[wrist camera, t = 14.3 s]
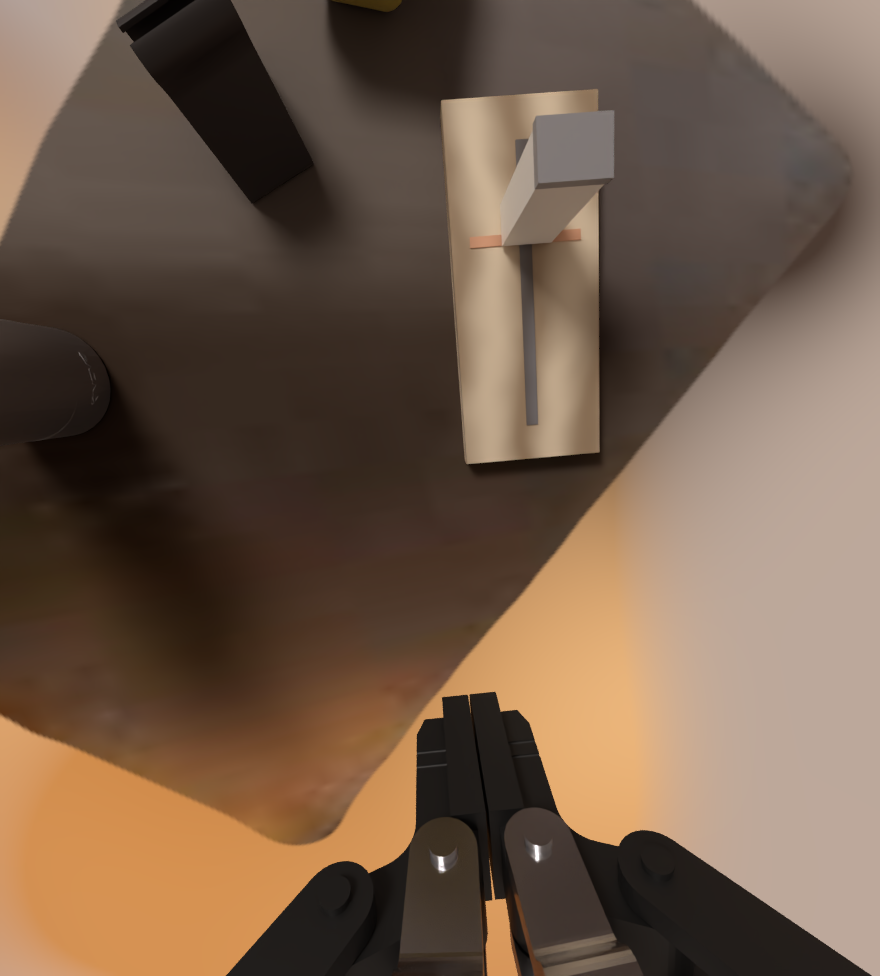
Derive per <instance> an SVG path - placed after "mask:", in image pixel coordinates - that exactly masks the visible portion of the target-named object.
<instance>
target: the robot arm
mask: <svg viewBox="0 0 880 976" xmlns="http://www.w3.org/2000/svg"><path fill="white" fill-rule="evenodd" d="M110 391H111V389H110V382H109V377H108V374H107V371H106V368H105V366H104V365H103V363H102V361H101V359H100V358H99V356H98V355H97V354H96V353H95V351H94V350H93V349H92V348H91V347H90V346H89V345H88V344H86V343H85V342H84V341H83V340H82V339H80V338H78V337H77V336H75V335H73V334H71V333H69V332H66V331H63V330H60V329H57V328H50V327H44V326H38V325H32V324H25V323H19V322H14V321H8V320H2V319H0V446H2V445H9V444H16V443H23V442H30V441H39V440H46V439H53V438H60V437H67V436H74V435H77V434H81V433H84V432H86V431H88V430H89V429H91V428H93V427H94V426H95V425H96V424H97V423H98V422H99V421H100V420H101V419H102V418H103V416H104V414H105V413H106V411H107V408H108V405H109V402H110ZM442 701H443V717H444V718H435V719H426V720H424V722H423V724H422V726H421V728H420V730H419V732H418V734H417V777H416V781H417V782H416V829H415V833H414V836H413V838H412V841H411V843H410V844H409V846H408V847H407V849H406V850H405V851H404V853H402V854H401V855H400V856H399V857H398V858H397V859H395V860H394V861H393V862H391V863H389V864H387V865H386V866H383V867H381V868H379V869H377V870H375V871H373V872H371V873H368V872H367V870H365V869H364V868H363V867H362V866H361V865H359V864H357V863H354V862H349V861H343V862H337V863H334V864H331V865H329V866H328V867H325V868H324V869H322V870H321V871H320V872H318V873H317V874H316V875H315V876H314V877H313V878H312V879H311V880H310V881H309V883H308V884H307V885H306V886H305V887H304V888H303V889H302V891H301V892H300V893H299V894H298V895H297V896H296V897H295V899H294V900H293V901H292V902H291V903H290V904H289V906H287V907H286V909H285V910H284V911H283V912H282V913H281V914H280V915H279V916H278V918H277V919H276V920H275V921H274V922H273V923H272V924H271V926H270V927H269V928H268V929H267V930H266V931H265V932H264V933H263V935H262V936H261V937H260V938H259V939H258V940H257V941H256V943H255V944H254V945H253V946H252V947H251V948H250V949H249V950H248V951H247V953H246V954H245V955H244V956H243V957H242V958H241V959H240V961H239V962H238V963H237V964H236V965H235V966H234V967H233V969H232V970H231V971H230V972H229V973H228V974H227V975H226V976H487V963H486V942H487V934H488V933H487V917H486V905H485V901H489V900H492V890H491V876H490V866H491V873H492V880H493V887H494V894H495V899H505V898H506V903H507V909H508V916H509V922H510V937H511V945H512V950H513V954H514V959H515V963H516V968H517V972H518V976H871V975H870V974H868V973H867V972H865V971H864V970H863V969H861V968H859V967H858V966H857V965H855V964H854V963H852V962H851V961H849V960H848V959H846V958H845V957H843V956H842V955H841V954H839V953H838V952H836V951H835V950H833V949H832V948H830V947H829V946H827V945H826V944H824V943H823V942H821V941H820V940H818V939H817V938H816V937H814V936H813V935H811V934H810V933H808V932H807V931H805V930H804V929H802V928H801V927H799V926H798V925H797V924H795V923H793V922H792V921H791V920H789V919H788V918H786V917H785V916H783V915H782V914H780V913H779V912H777V911H776V910H774V909H773V908H772V907H770V906H769V905H767V904H766V903H764V902H763V901H761V900H760V899H758V898H757V897H755V896H754V895H752V894H751V893H749V892H748V891H747V890H745V889H744V888H742V887H741V886H739V885H738V884H736V883H735V882H733V881H732V880H730V879H729V878H728V877H726V876H725V875H723V874H722V873H720V872H719V871H717V870H716V869H714V868H713V867H711V866H710V865H708V864H707V863H706V862H704V861H703V860H701V859H700V858H698V857H697V856H695V855H694V854H692V853H691V852H689V851H688V850H686V849H685V848H684V847H682V846H680V845H679V844H678V843H676V842H675V841H673V840H672V839H670V838H668V837H667V836H664V835H662V834H660V833H656V832H653V831H645V830H640V831H635V832H632V833H630V834H628V835H627V836H625V837H624V839H623V840H622V841H621V843H620V845H619V846H614V845H610V844H605V843H601V842H597V841H593V840H590V839H587V838H585V837H583V836H581V835H579V834H578V833H576V832H575V831H573V830H572V829H571V828H570V827H569V826H568V825H567V824H566V823H565V822H564V820H563V819H562V818H561V816H560V815H559V813H558V810H557V808H556V805H555V801H554V799H553V795H552V792H551V789H550V786H549V783H548V780H547V777H546V774H545V771H544V768H543V765H542V761H541V758H540V756H539V752H538V749H537V746H536V743H535V740H534V736H533V733H532V730H531V727H530V724H529V722H528V721H527V720H526V719H525V718H524V717H523V716H522V715H521V714H520V713H519V712H518V710H512V711H503V712H500V708H499V703H498V699H497V695H496V693H495V692H489V693H479V694H470V706H469V700H468V695H461V696H451V697H443V698H442ZM470 708H471V713H470ZM489 860H490V863H489Z"/></svg>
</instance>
